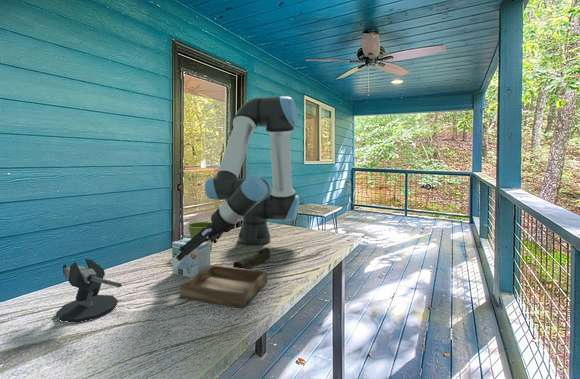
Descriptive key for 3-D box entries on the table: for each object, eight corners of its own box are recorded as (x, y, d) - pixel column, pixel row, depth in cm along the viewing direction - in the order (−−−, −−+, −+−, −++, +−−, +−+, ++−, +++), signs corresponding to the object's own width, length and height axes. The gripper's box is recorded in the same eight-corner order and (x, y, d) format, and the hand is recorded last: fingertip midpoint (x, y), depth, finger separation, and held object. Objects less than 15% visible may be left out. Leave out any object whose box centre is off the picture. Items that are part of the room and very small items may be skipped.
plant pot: (222, 251, 122) (222, 224, 121) (195, 257, 114) (195, 229, 112) (208, 245, 130) (207, 220, 129) (182, 250, 122) (181, 224, 121)
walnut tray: (212, 275, 97) (212, 264, 96) (267, 282, 91) (267, 271, 91) (179, 297, 80) (179, 285, 80) (244, 308, 75) (244, 295, 75)
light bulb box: (171, 274, 97) (171, 242, 96) (186, 267, 103) (185, 237, 102) (198, 279, 93) (197, 246, 92) (211, 272, 99) (211, 240, 98)
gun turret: (99, 335, 63) (96, 277, 61) (42, 315, 70) (38, 263, 69) (148, 308, 74) (146, 258, 73) (94, 294, 82) (92, 248, 81)
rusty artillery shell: (241, 274, 98) (241, 261, 98) (232, 272, 100) (232, 258, 100) (275, 259, 114) (275, 248, 113) (267, 257, 116) (267, 246, 115)
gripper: (214, 234, 80) (168, 280, 85) (251, 217, 104) (213, 255, 109) (197, 213, 81) (153, 261, 86) (237, 202, 105) (200, 239, 110)
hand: (186, 257), depth 98 cm, fingers open, 13 cm apart
